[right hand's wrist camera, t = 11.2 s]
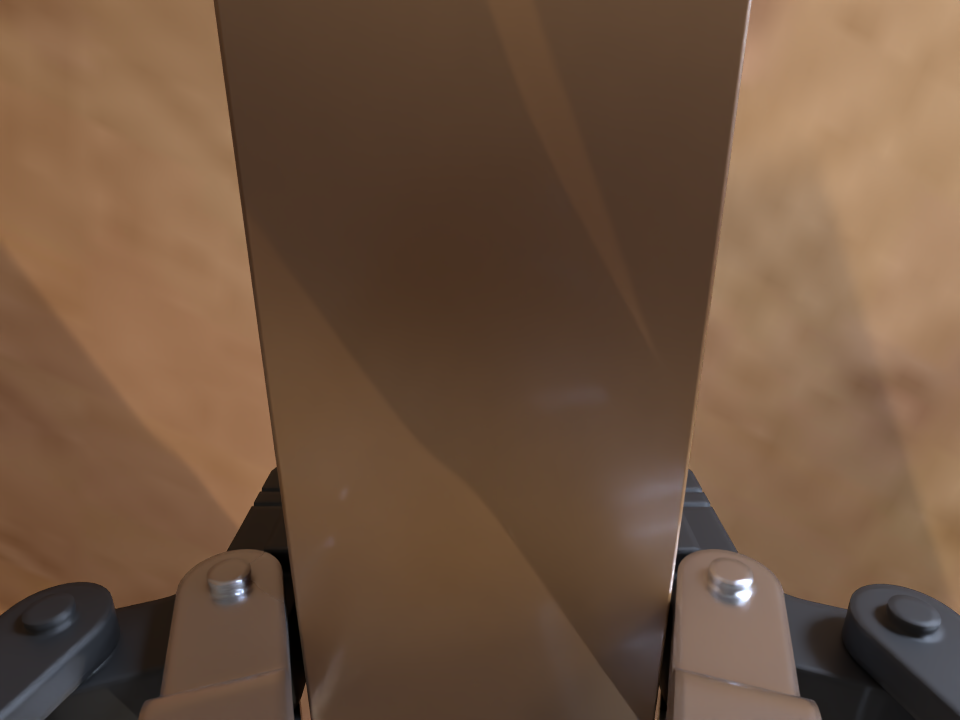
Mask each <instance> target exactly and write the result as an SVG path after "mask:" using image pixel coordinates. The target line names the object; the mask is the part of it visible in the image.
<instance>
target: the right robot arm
mask: <svg viewBox="0 0 960 720" xmlns="http://www.w3.org/2000/svg"><path fill="white" fill-rule="evenodd" d="M305 683H306V678H305V670H304V663H303V656H302V648H301V641H300V634H299V626H298V619H297V612H296V604H295V597H294V589H293V582H292V575H291V567H290V560H289V553H288V545H287V538H286V530H285V523H284V516H283V508H282V501H281V494H280V486H279V479H278V471H277V467H276V468H275V469H273V470H272V471H271V473H270V475H269V476H268V478H267V480H266V482H265V484H264V485H263V487H262V492H260V493H259V494H258V496H257V498H256V500H255V502H254V506H252V507H251V509H250V511H249V512H248V514H247V516H246V518H245V520H244V521H243V523H242V525H241V527H240V529H239V530H238V532H237V534H236V536H235V538H234V539H233V541H232V543H231V545H230V547H229V548H228V550H227V552H224V553H221V554H218V555H215V556H212V557H210V558H208V559H206V560H204V561H202V562H201V563H199V564H198V565H196V566H195V567H193V568H192V569H191V570H190V571H189V572H188V573H187V574H186V575H185V576H184V577H183V579H182V580H181V582H180V583H179V585H178V588H177V592H176V594H175V595H172V596H169V597H166V598H162V599H158V600H154V601H149V602H145V603H140V604H136V605H132V606H127V607H123V608H118V609H115V607H114V603H113V600H112V597H111V594H110V592H109V591H108V590H107V589H106V588H104V587H103V586H101V585H98V584H95V583H89V582H75V583H67V584H62V585H58V586H54V587H51V588H48V589H45V590H42V591H40V592H37V593H35V594H33V595H31V596H29V597H27V598H25V599H23V600H22V601H20V602H18V603H17V604H15V605H14V606H13V607H11V608H10V609H8V610H7V611H6V612H4V613H3V614H2V615H0V720H303V719H302V709H301V702H300V699H301V696H302V693H303V690H304V686H305ZM659 686H660V689H661V694H660V701H659V708H658V718H657V720H960V615H958V614H957V613H956V612H954V611H953V610H952V609H950V608H949V607H947V606H946V605H944V604H943V603H941V602H939V601H937V600H936V599H934V598H932V597H930V596H927V595H925V594H923V593H920V592H918V591H915V590H912V589H909V588H905V587H901V586H896V585H889V584H873V585H867V586H864V587H861V588H859V589H858V590H856V591H855V592H854V593H853V594H852V597H851V599H850V603H849V606H848V610H847V609H843V608H838V607H834V606H829V605H825V604H820V603H816V602H811V601H807V600H803V599H799V598H796V597H793V596H790V595H787V594H785V593H784V592H783V588H782V585H781V584H780V582H779V580H778V579H777V577H776V576H775V575H774V574H773V573H772V572H771V571H770V570H769V569H768V568H767V567H765V566H764V565H762V564H761V563H759V562H758V561H756V560H754V559H752V558H750V557H747V556H745V555H742V554H739V553H738V552H737V550H736V548H735V547H734V545H733V543H732V541H731V540H730V538H729V536H728V534H727V532H726V531H725V529H724V527H723V525H722V524H721V522H720V520H719V518H718V517H717V515H716V513H715V511H714V509H713V508H712V507H710V502H709V501H708V499H707V497H706V495H705V494H704V492H702V488H701V486H700V485H699V483H698V481H697V479H696V478H695V476H694V474H693V472H692V471H691V470H689V469H688V475H687V482H686V490H685V497H684V504H683V512H682V519H681V526H680V534H679V541H678V549H677V556H676V563H675V571H674V578H673V586H672V593H671V600H670V608H669V615H668V622H667V630H666V637H665V645H664V652H663V659H662V667H661V674H660V681H659Z"/></svg>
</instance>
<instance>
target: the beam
mask: <svg viewBox="0 0 960 720" xmlns="http://www.w3.org/2000/svg"><path fill="white" fill-rule="evenodd" d="M751 3H752V0H214V7H215V14H216V22H217V29H218V36H219V44H220V51H221V59H222V66H223V73H224V81H225V88H226V95H227V103H228V110H229V117H230V125H231V132H232V140H233V147H234V154H235V162H236V169H237V176H238V184H239V191H240V199H241V206H242V213H243V221H244V228H245V235H246V243H247V250H248V258H249V265H250V272H251V280H252V287H253V294H254V302H255V309H256V317H257V324H258V331H259V339H260V346H261V353H262V361H263V368H264V376H265V383H266V390H267V398H268V405H269V412H270V420H271V427H272V435H273V442H274V449H275V457H276V464H277V471H278V479H279V486H280V494H281V501H282V508H283V516H284V523H285V530H286V538H287V545H288V553H289V560H290V567H291V575H292V582H293V589H294V597H295V604H296V612H297V619H298V626H299V634H300V641H301V648H302V656H303V663H304V670H305V678H306V685H307V693H308V700H309V707H310V715H311V720H654V718H655V711H656V704H657V696H658V689H659V681H660V674H661V667H662V659H663V652H664V645H665V637H666V630H667V622H668V615H669V608H670V600H671V593H672V586H673V578H674V571H675V563H676V556H677V549H678V541H679V534H680V526H681V519H682V512H683V504H684V497H685V490H686V482H687V475H688V467H689V460H690V453H691V445H692V438H693V431H694V423H695V416H696V408H697V401H698V394H699V386H700V379H701V372H702V364H703V357H704V349H705V342H706V335H707V327H708V320H709V313H710V305H711V298H712V290H713V283H714V276H715V268H716V261H717V254H718V246H719V239H720V231H721V224H722V217H723V209H724V202H725V194H726V187H727V180H728V172H729V165H730V158H731V150H732V143H733V135H734V128H735V121H736V113H737V106H738V99H739V91H740V84H741V76H742V69H743V62H744V54H745V47H746V40H747V32H748V25H749V17H750V10H751Z"/></svg>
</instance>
